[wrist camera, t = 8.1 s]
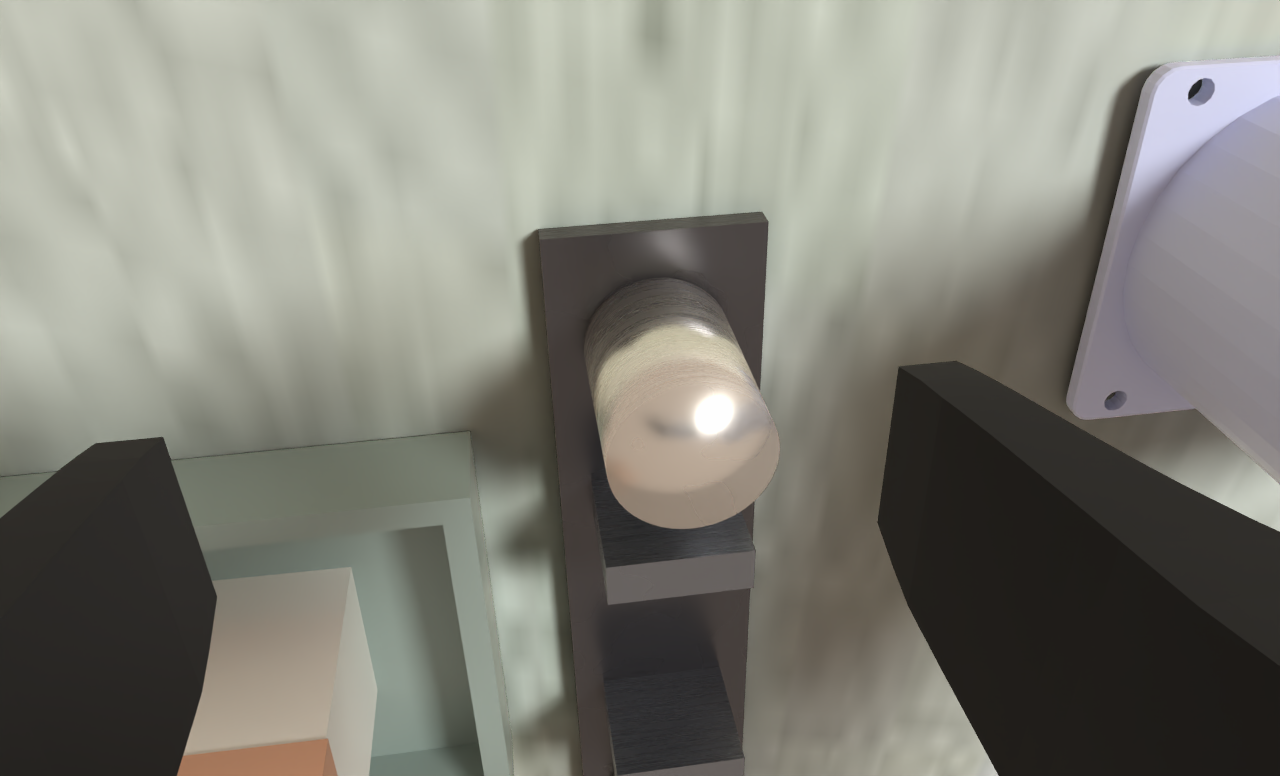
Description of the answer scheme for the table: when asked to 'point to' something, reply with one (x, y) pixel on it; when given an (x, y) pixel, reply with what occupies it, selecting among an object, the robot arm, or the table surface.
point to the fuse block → (659, 480)
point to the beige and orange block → (285, 680)
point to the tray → (373, 577)
